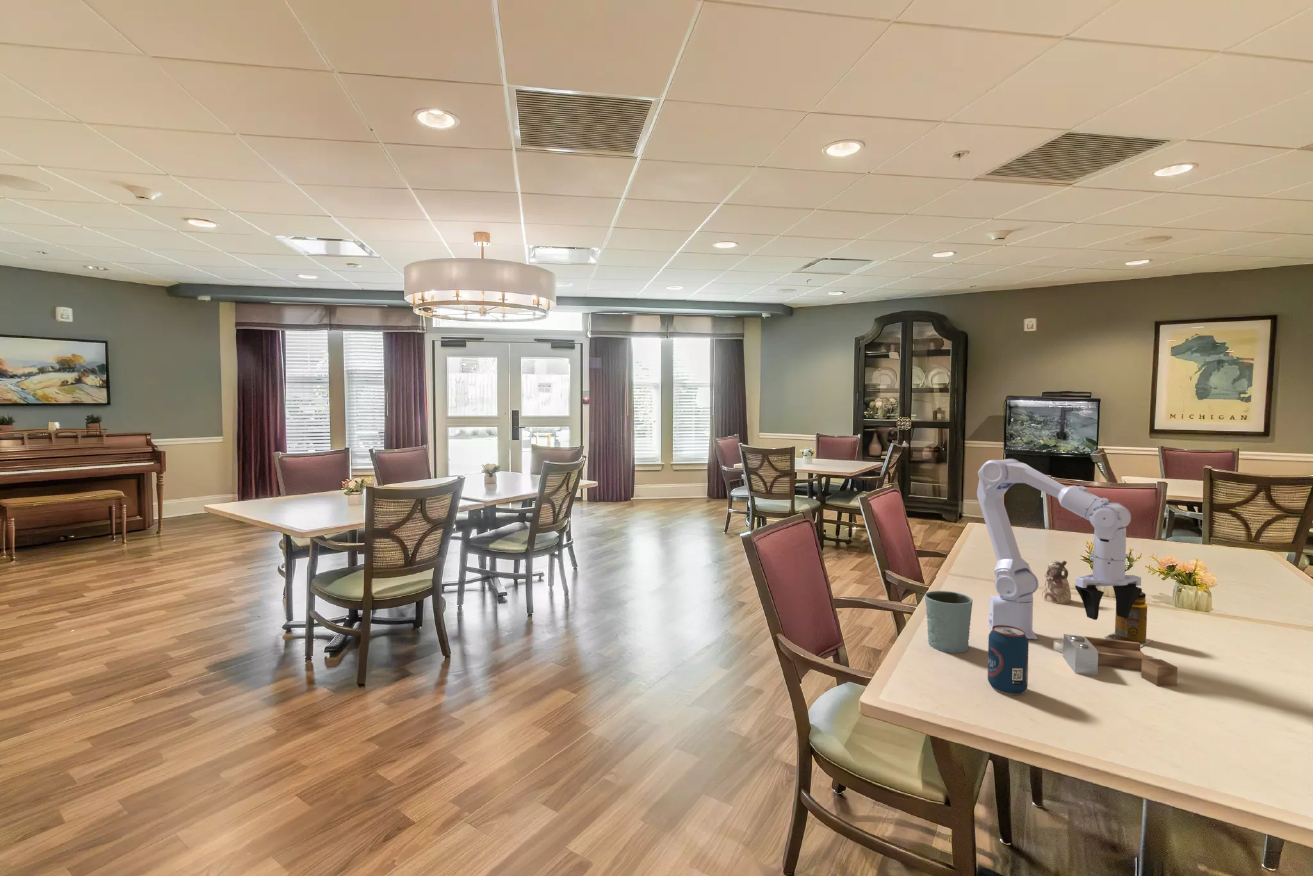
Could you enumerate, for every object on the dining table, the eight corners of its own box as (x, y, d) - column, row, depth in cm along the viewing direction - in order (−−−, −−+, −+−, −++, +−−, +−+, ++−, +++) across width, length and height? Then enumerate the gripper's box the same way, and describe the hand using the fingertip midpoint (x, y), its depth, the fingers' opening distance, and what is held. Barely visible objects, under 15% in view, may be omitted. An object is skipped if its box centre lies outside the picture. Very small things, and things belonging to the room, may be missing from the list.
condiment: (1152, 641, 145) (1154, 592, 144) (1140, 648, 140) (1141, 598, 140) (1117, 632, 151) (1118, 585, 150) (1103, 638, 146) (1104, 590, 146)
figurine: (1037, 596, 181) (1038, 557, 180) (1062, 597, 180) (1063, 558, 179) (1049, 603, 173) (1050, 563, 173) (1075, 604, 172) (1077, 564, 172)
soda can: (980, 680, 123) (982, 623, 122) (1014, 681, 123) (1016, 624, 122) (999, 696, 116) (1000, 636, 115) (1035, 697, 116) (1036, 636, 115)
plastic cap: (1055, 653, 138) (1055, 644, 138) (1051, 647, 141) (1051, 639, 141) (1074, 655, 136) (1074, 646, 136) (1069, 649, 140) (1069, 641, 140)
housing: (1075, 673, 126) (1075, 647, 126) (1063, 657, 135) (1063, 632, 135) (1097, 676, 125) (1098, 649, 125) (1083, 660, 133) (1084, 635, 133)
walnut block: (1156, 686, 120) (1157, 667, 120) (1141, 677, 125) (1141, 659, 124) (1176, 686, 120) (1177, 667, 120) (1160, 678, 124) (1161, 659, 124)
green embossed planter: (976, 646, 141) (978, 596, 141) (964, 658, 134) (965, 606, 133) (932, 635, 148) (933, 588, 148) (917, 646, 141) (918, 597, 140)
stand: (1092, 663, 131) (1092, 652, 131) (1077, 645, 141) (1077, 635, 141) (1159, 672, 127) (1159, 660, 127) (1138, 653, 137) (1138, 642, 137)
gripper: (1095, 563, 128) (1093, 625, 128) (1154, 561, 130) (1152, 622, 130) (1068, 555, 135) (1067, 614, 135) (1125, 553, 137) (1123, 611, 137)
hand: (1107, 617), depth 133 cm, fingers open, 7 cm apart
